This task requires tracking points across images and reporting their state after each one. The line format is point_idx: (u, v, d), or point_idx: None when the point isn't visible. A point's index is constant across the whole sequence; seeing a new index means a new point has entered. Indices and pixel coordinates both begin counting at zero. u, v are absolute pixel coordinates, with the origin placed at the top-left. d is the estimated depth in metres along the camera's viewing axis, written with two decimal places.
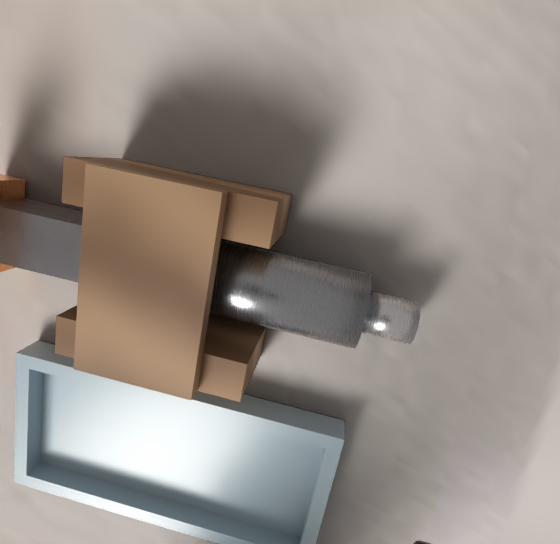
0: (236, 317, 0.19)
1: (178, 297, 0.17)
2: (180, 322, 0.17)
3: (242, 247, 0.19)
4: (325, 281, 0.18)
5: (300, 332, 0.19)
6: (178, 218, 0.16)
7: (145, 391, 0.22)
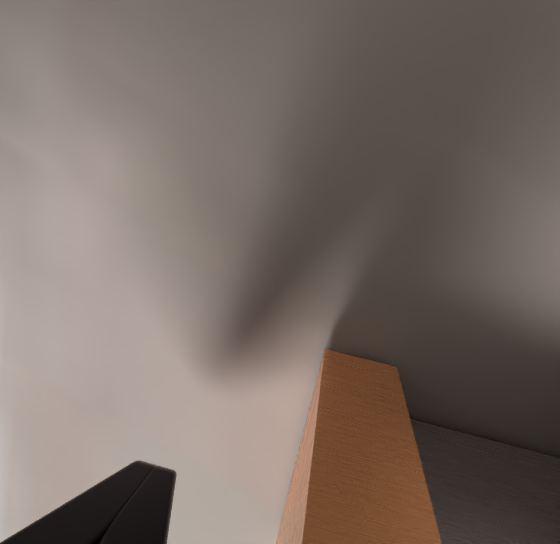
0: None
1: None
2: None
3: None
4: None
5: None
6: None
7: None
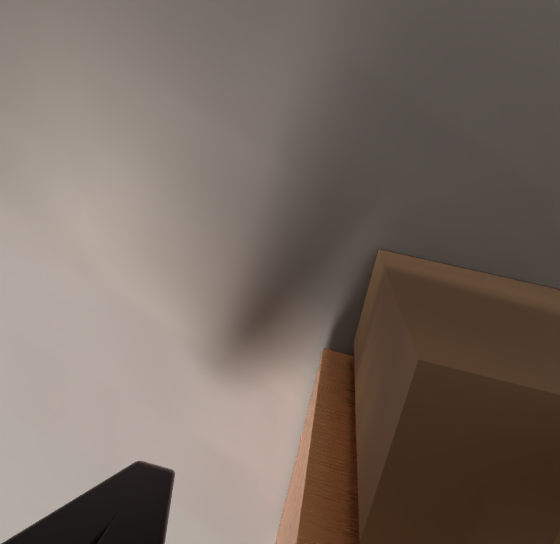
0: None
1: None
2: None
3: None
4: None
5: None
6: None
7: None
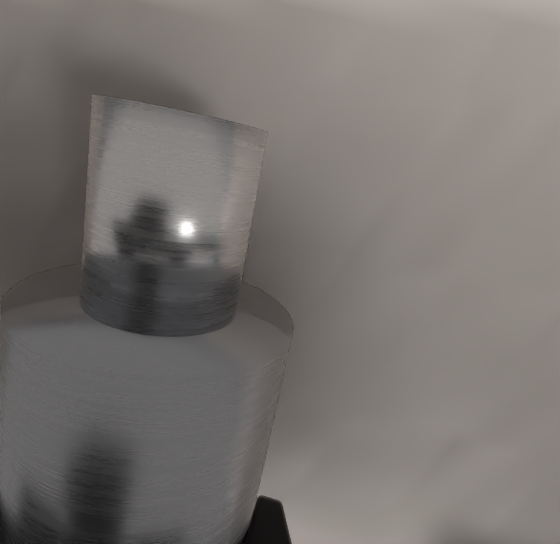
0: None
1: None
2: None
3: None
4: (0, 457, 0.05)
5: None
6: None
7: None
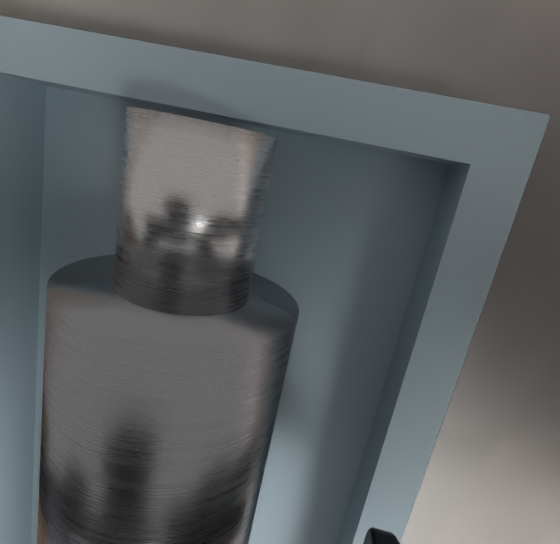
0: None
1: None
2: None
3: None
4: (42, 422, 0.06)
5: (209, 513, 0.06)
6: None
7: None
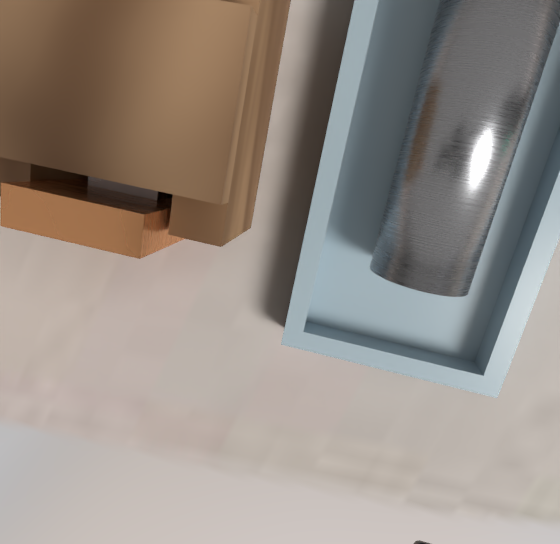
0: (515, 133, 0.13)
1: (95, 25, 0.12)
2: (130, 22, 0.12)
3: (406, 133, 0.14)
4: None
5: (551, 21, 0.12)
6: None
7: (327, 160, 0.15)
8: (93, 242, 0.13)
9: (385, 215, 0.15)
